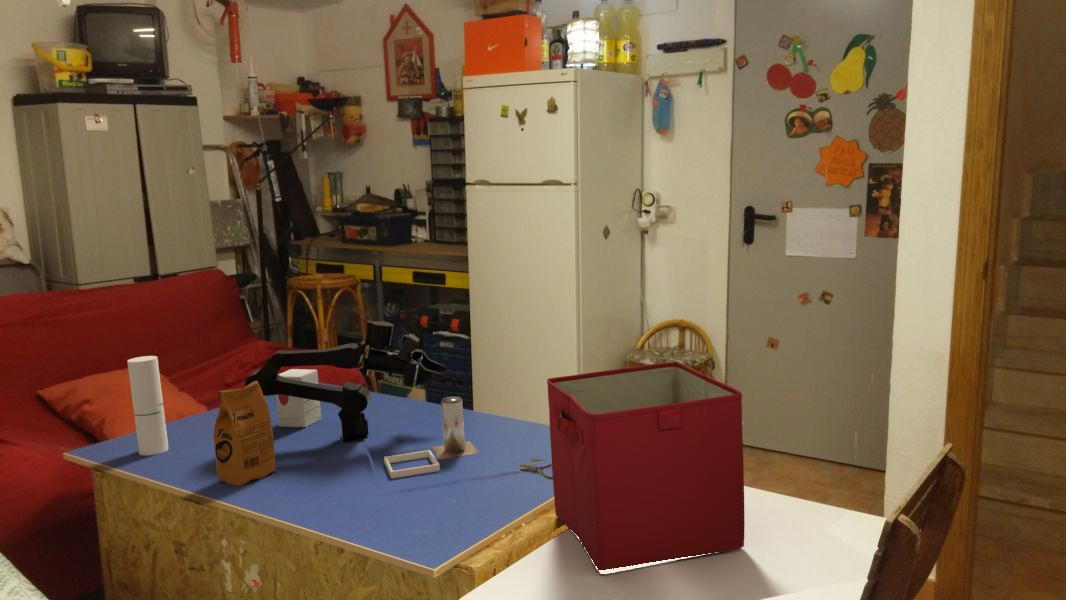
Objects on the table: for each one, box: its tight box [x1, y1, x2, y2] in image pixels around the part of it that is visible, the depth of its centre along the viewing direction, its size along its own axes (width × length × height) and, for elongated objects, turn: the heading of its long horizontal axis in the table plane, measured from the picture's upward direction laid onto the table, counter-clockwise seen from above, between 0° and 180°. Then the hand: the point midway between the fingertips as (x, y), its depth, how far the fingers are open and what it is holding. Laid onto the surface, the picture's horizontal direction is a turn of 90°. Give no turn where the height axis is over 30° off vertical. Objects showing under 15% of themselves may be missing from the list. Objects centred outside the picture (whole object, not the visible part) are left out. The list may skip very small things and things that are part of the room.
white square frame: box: [383, 449, 441, 479], centre depth 194 cm, size 11×11×2 cm
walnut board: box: [430, 440, 480, 460], centre depth 204 cm, size 10×10×1 cm
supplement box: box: [275, 368, 322, 429], centre depth 237 cm, size 9×9×15 cm
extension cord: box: [519, 457, 553, 480], centre depth 190 cm, size 12×16×2 cm
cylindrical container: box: [126, 355, 170, 456], centre depth 217 cm, size 7×7×25 cm
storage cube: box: [546, 361, 746, 570], centre depth 153 cm, size 32×28×29 cm
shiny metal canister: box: [440, 396, 466, 454], centre depth 203 cm, size 5×5×13 cm
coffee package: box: [213, 381, 277, 487], centre depth 195 cm, size 10×12×22 cm
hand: (445, 372), depth 220 cm, fingers open, 9 cm apart
